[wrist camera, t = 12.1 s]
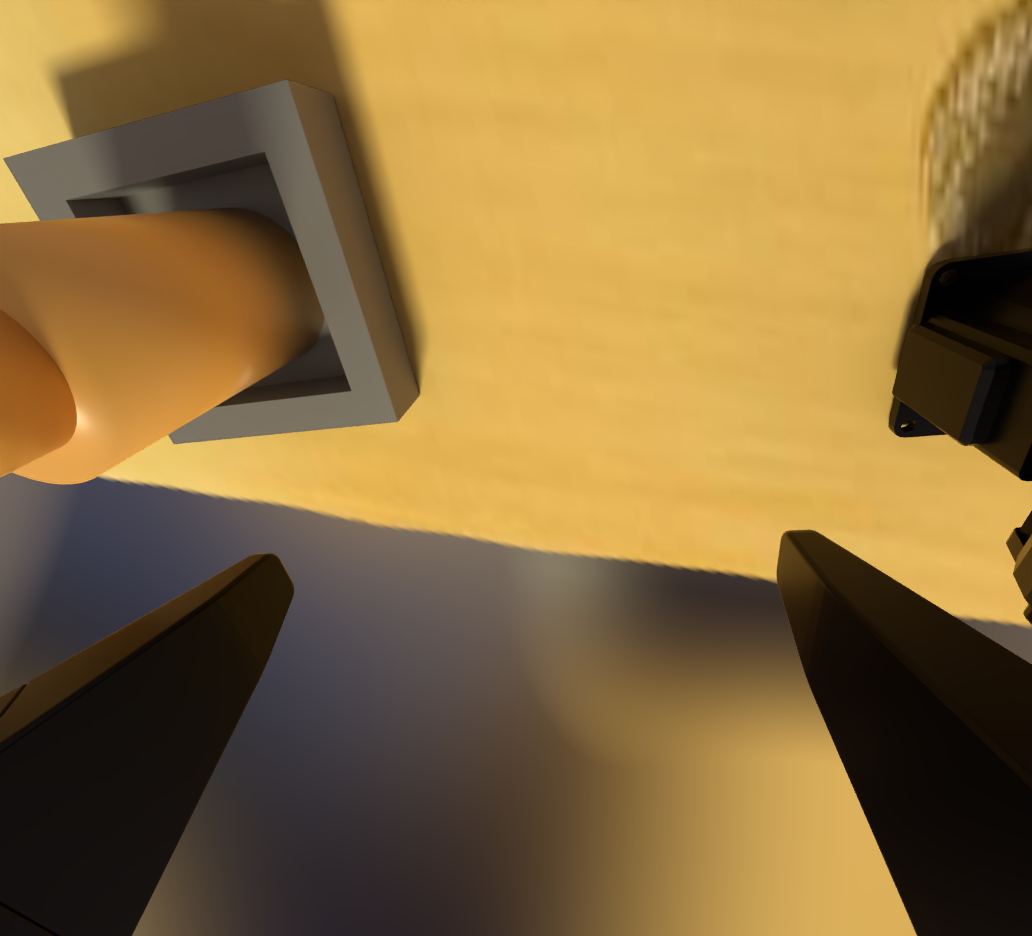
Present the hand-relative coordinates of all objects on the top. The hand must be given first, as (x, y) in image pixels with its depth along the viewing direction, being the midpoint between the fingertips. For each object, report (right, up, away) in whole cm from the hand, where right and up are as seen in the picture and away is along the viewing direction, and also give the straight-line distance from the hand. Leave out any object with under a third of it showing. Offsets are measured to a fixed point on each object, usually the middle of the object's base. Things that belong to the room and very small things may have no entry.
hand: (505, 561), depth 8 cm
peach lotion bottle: (-11, +9, +11) cm, 18 cm away
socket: (-10, +9, +12) cm, 18 cm away
